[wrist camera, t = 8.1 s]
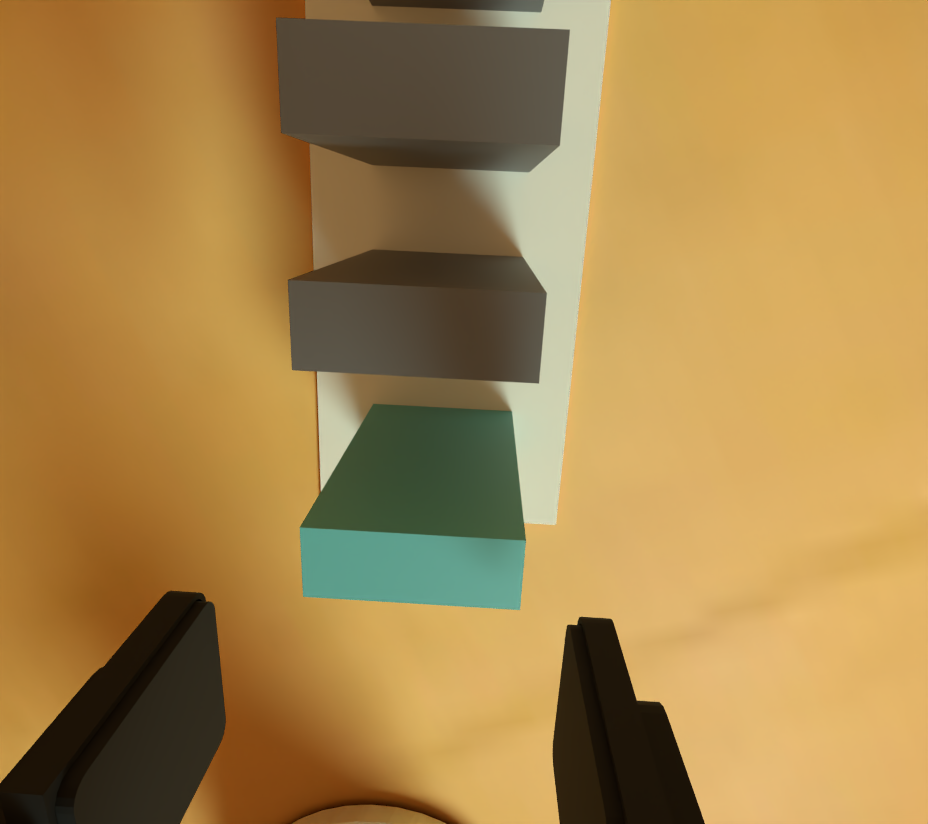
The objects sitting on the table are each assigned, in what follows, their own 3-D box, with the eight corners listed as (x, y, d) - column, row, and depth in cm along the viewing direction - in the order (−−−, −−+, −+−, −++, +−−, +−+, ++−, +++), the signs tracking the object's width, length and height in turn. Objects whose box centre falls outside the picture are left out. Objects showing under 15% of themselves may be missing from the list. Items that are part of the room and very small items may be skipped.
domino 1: (529, 172, 19) (559, 145, 11) (372, 165, 20) (280, 133, 11) (533, 110, 19) (570, 29, 10) (372, 102, 19) (275, 17, 10)
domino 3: (508, 457, 23) (519, 610, 14) (373, 450, 23) (303, 596, 14) (511, 411, 22) (525, 540, 13) (373, 403, 22) (299, 527, 14)
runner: (554, 520, 24) (555, 524, 23) (323, 507, 24) (321, 510, 24) (676, -643, 14) (680, -660, 14) (287, -648, 14) (283, -665, 14)
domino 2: (518, 311, 21) (539, 383, 12) (372, 303, 21) (291, 370, 12) (522, 257, 20) (547, 292, 12) (372, 249, 20) (288, 280, 12)
